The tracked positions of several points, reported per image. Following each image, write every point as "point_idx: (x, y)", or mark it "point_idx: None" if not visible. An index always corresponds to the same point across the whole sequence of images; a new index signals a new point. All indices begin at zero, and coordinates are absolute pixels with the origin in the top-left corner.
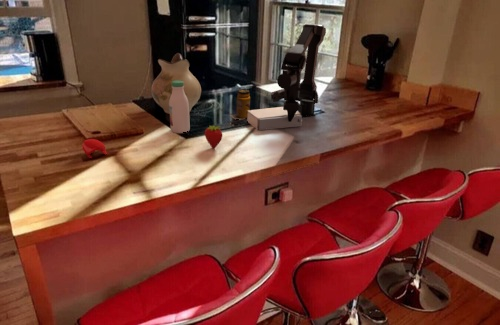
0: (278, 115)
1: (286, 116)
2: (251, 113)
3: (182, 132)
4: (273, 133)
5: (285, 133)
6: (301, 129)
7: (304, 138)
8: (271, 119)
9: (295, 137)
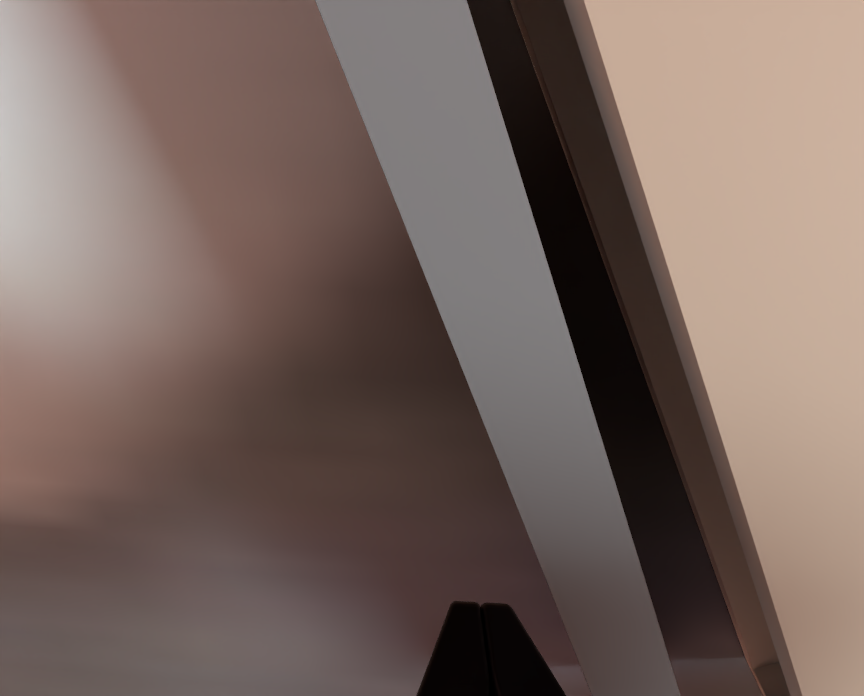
0: (776, 407)
1: (665, 646)
2: None
3: None
4: (96, 96)
5: (182, 387)
6: None
7: (25, 656)
8: (330, 29)
9: (15, 541)
